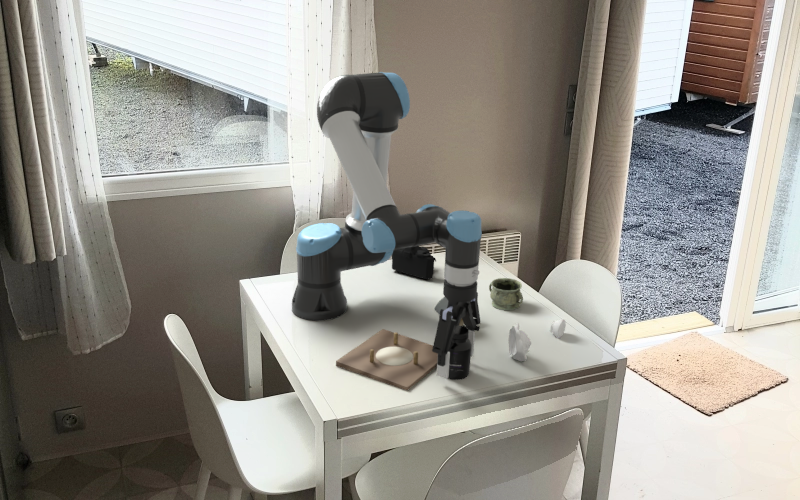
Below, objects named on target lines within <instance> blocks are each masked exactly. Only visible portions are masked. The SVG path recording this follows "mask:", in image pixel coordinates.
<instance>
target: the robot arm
mask: <svg viewBox="0 0 800 500" xmlns="http://www.w3.org/2000/svg"><path fill="white" fill-rule="evenodd" d="M410 98H411V97H410V94H409V90H408V88H407V84H406V83H405V81H404V79H403V78H402V77H401V76H400V74H399V75H398V74H397V73H395V72H383V71H379V72H368V73H357V74H356V73H355V74H341V75H338V76H335V77H334V78H332V79H330V81H328V82H327V83H326V85H325V86H324V87H323V88H322V90H321V91H320V93H319V96H318V101H317V104H316V117H317V122H318V125H319V126H318V127H320V130H321V133H322V134H323V136H324V137H325V138H327V139H329V140H330V142H331V144H332V146H333V149H334V151H335V153H336V156H337V158H338V160H339V162H340V164H341V167H342V170H343V171H344V174H345V176H346V178H347V180H348V182H349V184H350V187H351V189H352V201H351V202H352V205H351V212H350V213H349V214H347V215H346V217H345V222H344V227H340V226H339V225H338V224H335V223H332V222H331V223H330V222H327V223H324V222H319V223H314V224H310V225H309V226H306V227H305V228H302V230H301V231H299V233H298V235H297V239H296V247H295V248H296V249H295V250H296V264H297V265H296V267H297V270H296V271H297V284H296V287H295V290H294V293H293V296H292V300H291V311H292V313H293V314H294V316H295V315H296V316H297V317H298V318H301V319H303V320H308V321H329V320H333V319H337V318H340V317H342V316H343V315H344V314H345V313H346V312H347V310H348V301H347V300H348V299H347V297H346V296H345V292H344V289H343V286H342V283H341V282H342V281H341V279H342V278H341V275H342V274H341V273H342V272H343V271H344V272H345V271H350V270H354V269H359V268H365V267H373V266H374V267H376V266H377V265H379V264H384V263H386V262H387V261H389V259H390V258H391V257H392V253H393V250H397V249H402V248H407V247H414V246H420V247H421V246H425V245H429V244H437V245H438V246H440V247H442V248H443V249H445V253H444V254H445V257H444V268H443V270H444V272H443V278H444V280H443V287H442V288H443V291H442V292H443V293H442V294H443V297H446V298H447V300H448V306H447V309H446V310H443V309H441V310H440V315H439V318H438V319H439V320H438V322H437V323H438V324H437V328H436V331H435V336H434V341H433V344H432V345H433V349H432V352H435V353H438V357H437V367H436V376H438V377H440V378H443V379H447V378H448V377H449V360H450V352H448V350H449V347H450V344H451V341H452V338H453V335H454V332H455V329H456V327H457V326H458V325H459V324H460V321H461V319H462V320H463V322H464V327H466V328H467V329H468V330H469V334H468V335H469V337H468V339H469V340H470V341H471V344H472V349H471V358H473V356H474V350H475V349H474V348H475V338H476V331H477V332H479V331H480V328H481V327H480V326H479V325H481V317H480V316H481V315H480V308H479V302H478V301H479V300H478V298H479V293H478V278H479V275H480V270H479V265H480V254H481V253H480V252H481V243H482V236H483V235H482V234H483V233H482V218H481V216H480V214H478V213H476V212H474V211H469V210H455V211H452V212H450V211H448V210H446V209H445V208H443V207H441V206H439V205H435V204H432V203H429V204H428V203H427V204H424V205H422V206H421V207H420V208H418V209H417V210H416V212H411V213H405V214H401V213H400V211H399V209H398V206H397V204H396V203H395V201H394V199H393V197H392V194H391V192H390V189H389V188H388V185H387V180H388V171H389V163H390V162H389V160H390V152H391V143H392V142H391V140H392V135H393V134H394V133H395V132H397V131H398V130H399V128H398V127H399V121H400V120H402V119H404V118H406V117H407V116H408V114H409V112H410V108H411V104H410V103H411V100H410ZM451 319H454V320H456V321H453V320H451Z"/></svg>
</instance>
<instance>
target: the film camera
mask: <svg viewBox="0 0 800 500" xmlns="http://www.w3.org/2000/svg"><path fill="white" fill-rule="evenodd" d="M391 257H392V258H391V269H392V270H393V271H397V272H400V273H402V274H406V275H410V276H414V277H417V278H420V279H424V280H431V279H433V277H434V271H435V269H434V268H435V262H437V259H436V257H434V255H432V254H431V252H430V250H429V249H428V248H427V247H425V246H421V245H420V246H414V247H407V248H402V249H397V250H393V253H392V255H391Z"/></svg>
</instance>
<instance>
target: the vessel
mask: <svg viewBox="0 0 800 500" xmlns="http://www.w3.org/2000/svg"><path fill="white" fill-rule="evenodd" d="M488 285H489V286H488V289H489V293H490V294H489V295H490V298H491V300H492V301H491V306H492V307H494V308H495V309H497V310H502V311H513V310H515V309H519V308H521V305H522V304H523V302H524V296H523V293H522V292H521V289H522V287H523V285H522V283H521V281H519V280H517V279H514V278H508V277H499V278H496V279H493V280H492V281H491V282H490V283H489V284H488Z"/></svg>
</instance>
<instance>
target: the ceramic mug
mask: <svg viewBox="0 0 800 500" xmlns="http://www.w3.org/2000/svg"><path fill="white" fill-rule="evenodd" d="M447 306H448V300H447V298H446V297H445V296H443V297H442V298H441V299H440V300H439V301H438V302H437V303H436V304H435V306H434V312H436V313H437V314H438V315H439V316H440V310H441V309H443V310H446V309H447ZM451 320H453V321H456V320H454V319H451ZM459 325H460V326H465V324H464V322H463V320H462V319H461V321H460V324H459Z"/></svg>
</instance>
